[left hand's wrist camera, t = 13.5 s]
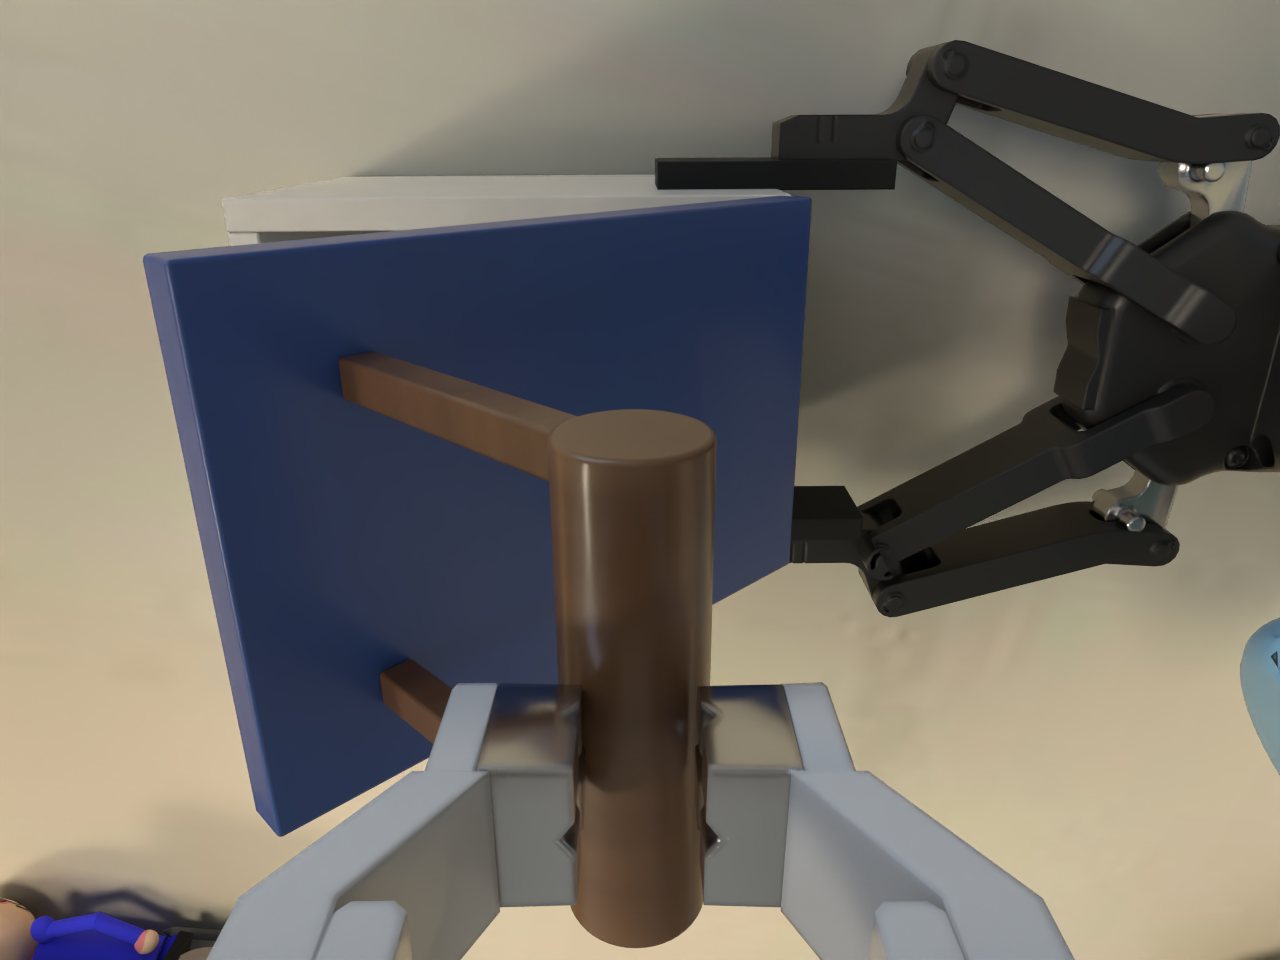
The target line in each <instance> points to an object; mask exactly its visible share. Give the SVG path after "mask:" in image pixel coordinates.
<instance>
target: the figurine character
mask: <svg viewBox="0 0 1280 960" xmlns="http://www.w3.org/2000/svg"><path fill="white" fill-rule="evenodd" d="M93 929H94V930H93ZM221 931H222V930H216V929H203V928H190V927H177V926H173V927H170V928H167V929H165V930H162V931H161V932H163V933H164V934H166V935H168V936H169V937H170V938H169V937H168V936H163V935H158V934H157V932H156V931H154V930H145V929H143V928H140V927H137V926H135V925H132V924H130V923H127V922H124V921H122V920H119V919H117V918H114V917H111V916H109V915H106V914H104V913H102V912H97V913H92V914H86V915H81V916H76V917H71V918H66V919H61V920H56V921H55V920H54V919H53V918H51V917H49V916H41V917H38V918H37V919H35V918H34V916H33V915H32V914H31V912H30V911H29V910H28V909H26V908H25V907H24V906H22V905H21V904H19V903H17V902H15V901H12V900H8V899H3V898H0V960H206V959H207V957H208V955H209V953H210V952H211V950H212V948H213V947H203V948H198V949H194V950H191V951H190V946H191V939H195V940H208V941H216V940H217V938H218V936H219V934H220V933H221Z"/></svg>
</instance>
